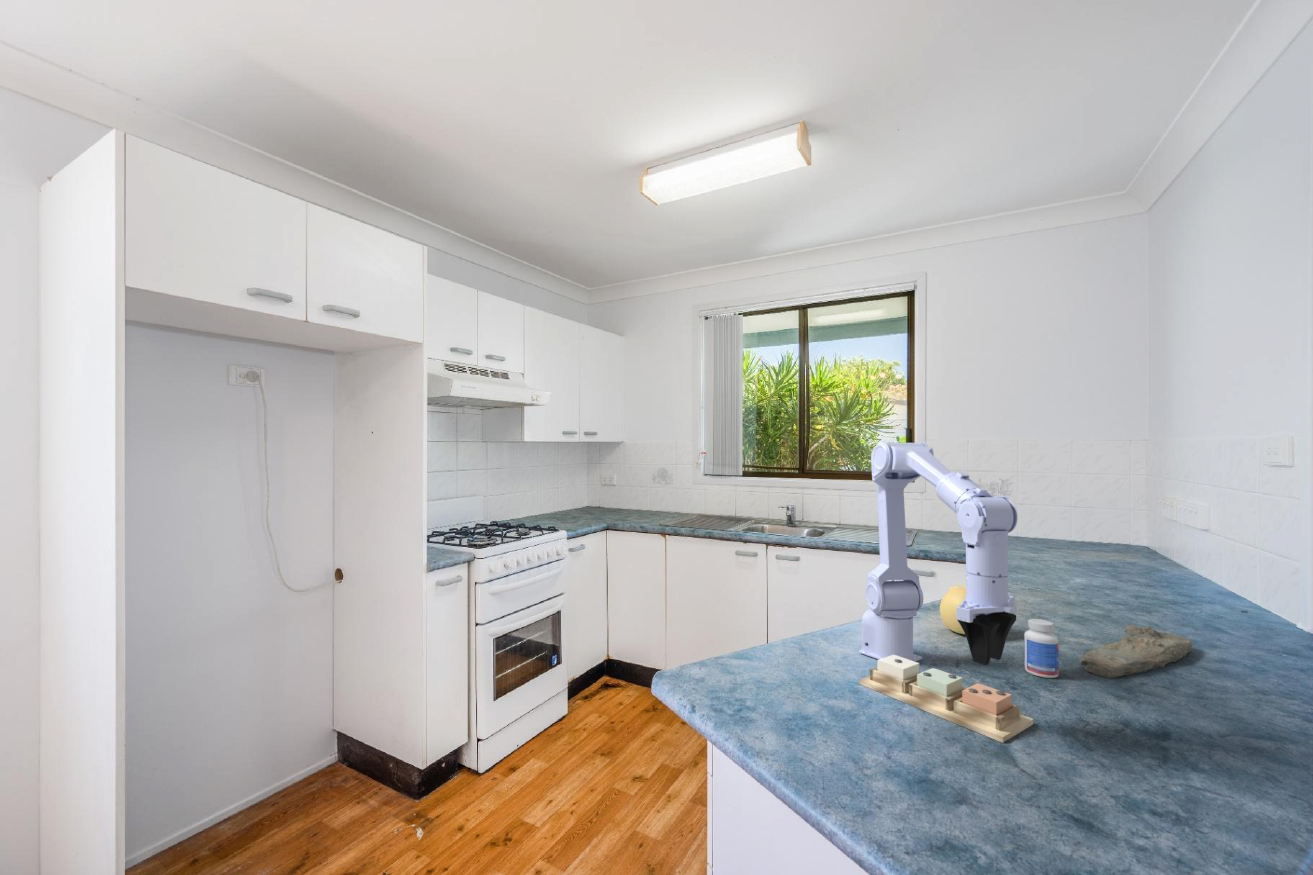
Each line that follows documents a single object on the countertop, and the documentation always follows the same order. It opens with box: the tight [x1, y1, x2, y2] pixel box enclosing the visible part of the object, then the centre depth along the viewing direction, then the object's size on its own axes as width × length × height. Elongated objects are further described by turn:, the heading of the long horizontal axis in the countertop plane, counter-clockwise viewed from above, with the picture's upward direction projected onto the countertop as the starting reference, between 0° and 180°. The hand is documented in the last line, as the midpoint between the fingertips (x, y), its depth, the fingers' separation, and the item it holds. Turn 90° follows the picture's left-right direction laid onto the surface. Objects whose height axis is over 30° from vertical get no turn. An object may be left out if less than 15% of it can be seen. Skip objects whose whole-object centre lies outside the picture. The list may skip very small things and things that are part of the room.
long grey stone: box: [1079, 624, 1193, 679], centre depth 113 cm, size 35×5×10 cm
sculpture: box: [939, 585, 966, 635], centre depth 130 cm, size 12×12×11 cm
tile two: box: [917, 667, 963, 697], centre depth 93 cm, size 5×5×3 cm
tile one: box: [876, 655, 920, 681], centre depth 99 cm, size 5×5×3 cm
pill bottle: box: [1023, 618, 1060, 679], centre depth 106 cm, size 6×5×10 cm
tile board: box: [858, 666, 1034, 744], centre depth 93 cm, size 24×10×3 cm, turn 34°
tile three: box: [962, 683, 1013, 716], centre depth 86 cm, size 5×5×3 cm
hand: (986, 660), depth 87 cm, fingers open, 3 cm apart
